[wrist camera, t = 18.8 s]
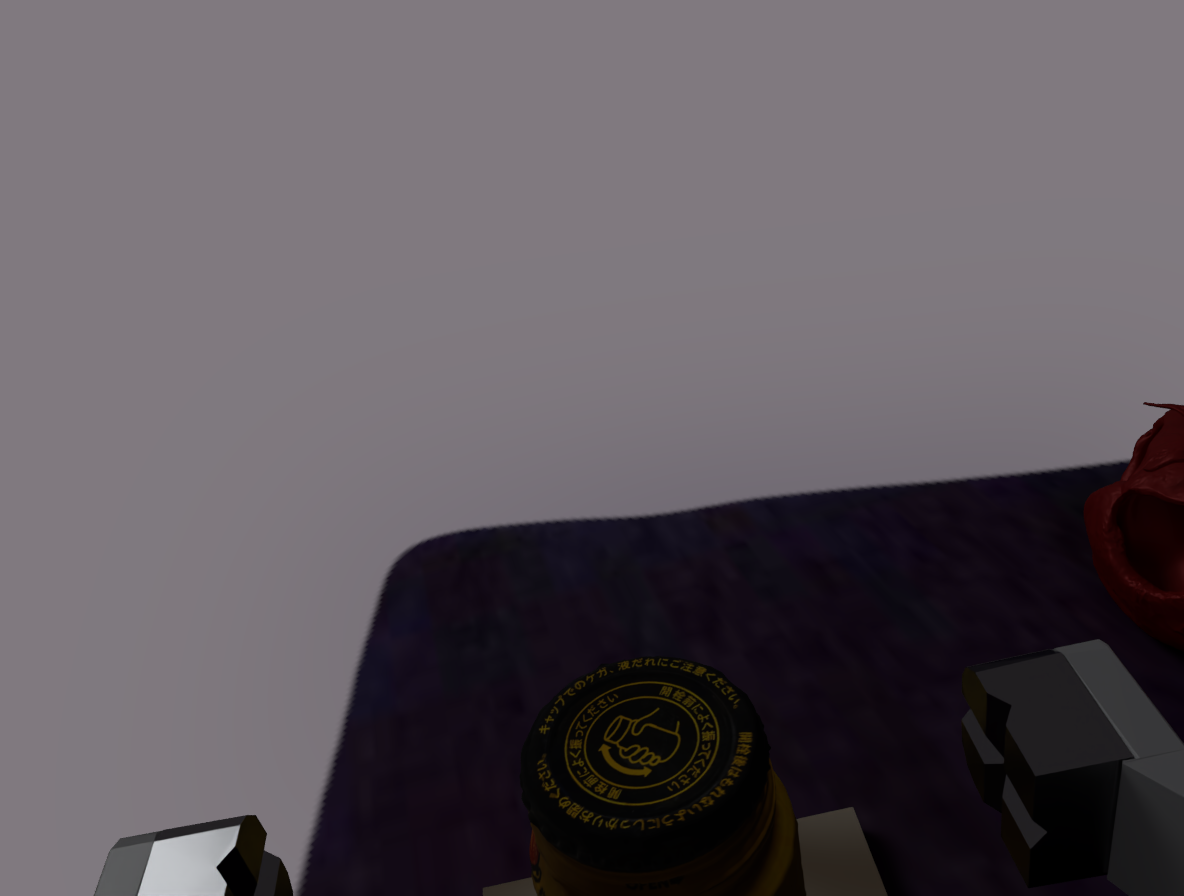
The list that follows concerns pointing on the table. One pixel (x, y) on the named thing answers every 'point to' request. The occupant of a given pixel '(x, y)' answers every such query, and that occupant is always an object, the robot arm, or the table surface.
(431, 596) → the table surface
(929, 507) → the table surface
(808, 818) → the board
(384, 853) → the table surface
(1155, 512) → the pomegranate
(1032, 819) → the robot arm
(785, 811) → the condiment
